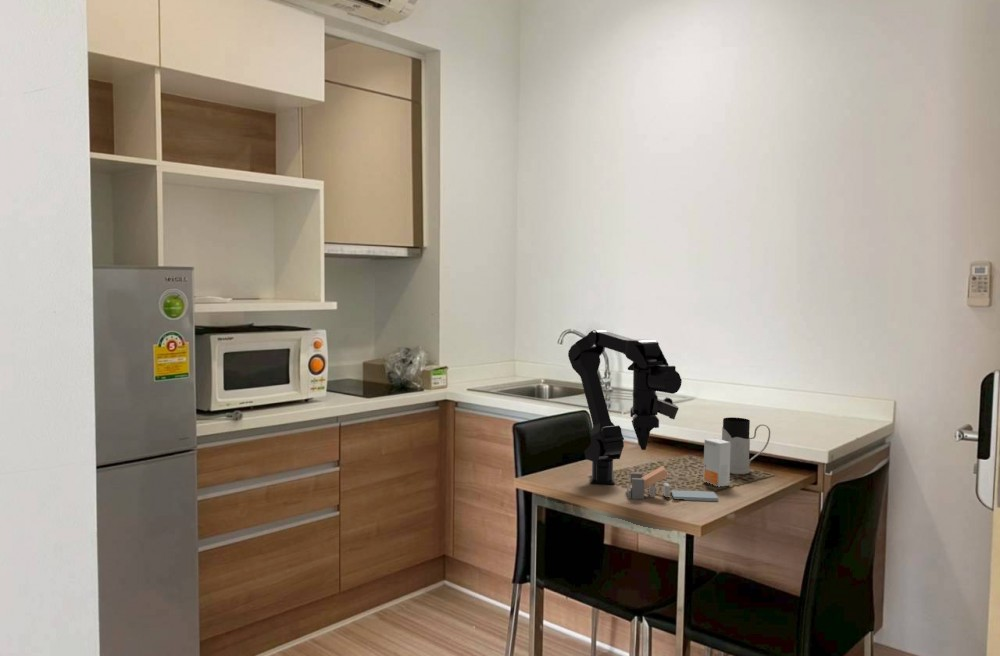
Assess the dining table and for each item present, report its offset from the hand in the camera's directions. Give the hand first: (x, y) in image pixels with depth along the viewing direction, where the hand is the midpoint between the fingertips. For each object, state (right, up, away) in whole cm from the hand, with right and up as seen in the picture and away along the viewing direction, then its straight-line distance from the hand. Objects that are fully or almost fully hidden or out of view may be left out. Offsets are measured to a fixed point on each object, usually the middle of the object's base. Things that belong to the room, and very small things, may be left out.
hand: (643, 449), depth 200 cm
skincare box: (+22, -12, +13) cm, 29 cm away
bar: (+2, -9, +1) cm, 9 cm away
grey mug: (+35, -11, +29) cm, 47 cm away
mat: (+13, -12, 0) cm, 18 cm away
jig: (+2, -12, +1) cm, 12 cm away
